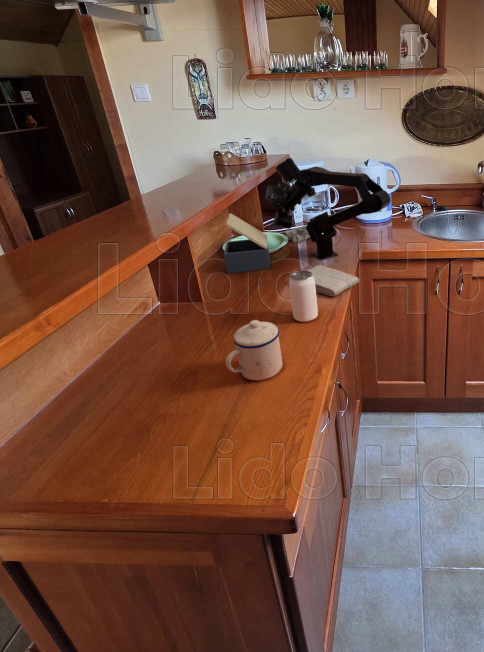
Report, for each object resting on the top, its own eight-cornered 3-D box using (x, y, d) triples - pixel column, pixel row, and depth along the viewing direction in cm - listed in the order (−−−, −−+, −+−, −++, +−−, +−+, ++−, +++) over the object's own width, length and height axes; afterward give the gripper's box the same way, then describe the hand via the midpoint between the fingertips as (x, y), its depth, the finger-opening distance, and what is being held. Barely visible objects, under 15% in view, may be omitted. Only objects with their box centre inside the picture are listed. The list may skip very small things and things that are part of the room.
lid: (225, 225, 131) (227, 223, 131) (229, 214, 143) (230, 212, 142) (266, 249, 138) (267, 247, 137) (266, 237, 149) (267, 235, 149)
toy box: (227, 273, 138) (223, 254, 135) (230, 259, 149) (226, 241, 146) (269, 268, 140) (267, 249, 138) (269, 255, 152) (267, 237, 149)
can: (294, 324, 107) (289, 282, 102) (292, 312, 113) (287, 271, 108) (319, 320, 108) (315, 278, 104) (316, 308, 114) (312, 268, 109)
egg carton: (295, 243, 162) (293, 233, 161) (284, 239, 167) (283, 229, 166) (317, 236, 169) (316, 227, 167) (306, 232, 174) (305, 223, 172)
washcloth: (318, 270, 138) (317, 262, 136) (361, 283, 128) (360, 274, 127) (291, 284, 129) (290, 274, 128) (335, 298, 119) (334, 289, 118)
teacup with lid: (267, 351, 96) (260, 306, 92) (292, 366, 91) (285, 320, 86) (219, 377, 88) (208, 329, 83) (243, 395, 83) (233, 346, 78)
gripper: (277, 163, 146) (254, 190, 155) (273, 202, 135) (250, 228, 144) (304, 178, 153) (281, 202, 162) (303, 216, 142) (278, 240, 151)
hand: (272, 217), depth 154 cm, fingers open, 9 cm apart
